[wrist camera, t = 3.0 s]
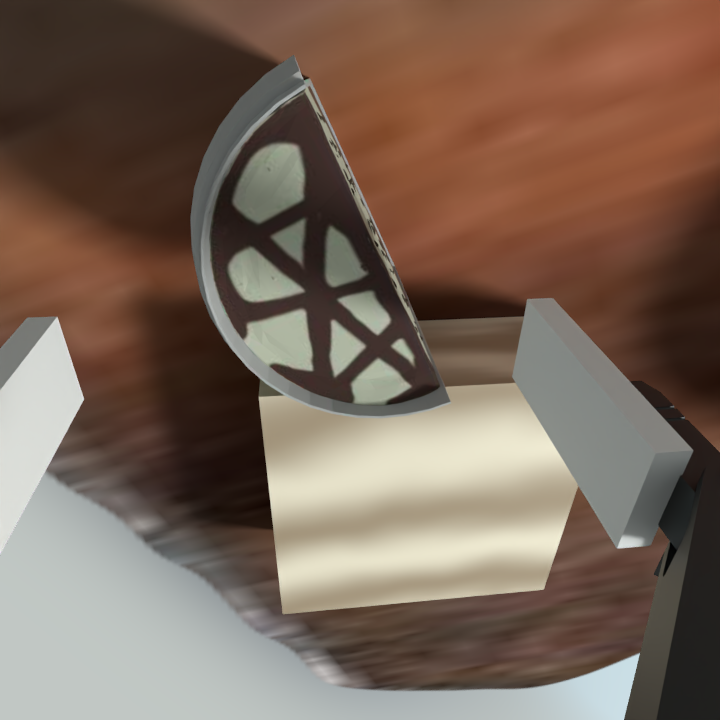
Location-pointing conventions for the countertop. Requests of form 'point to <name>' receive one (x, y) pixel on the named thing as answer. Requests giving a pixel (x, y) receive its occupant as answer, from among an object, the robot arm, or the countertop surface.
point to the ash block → (418, 486)
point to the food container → (304, 261)
